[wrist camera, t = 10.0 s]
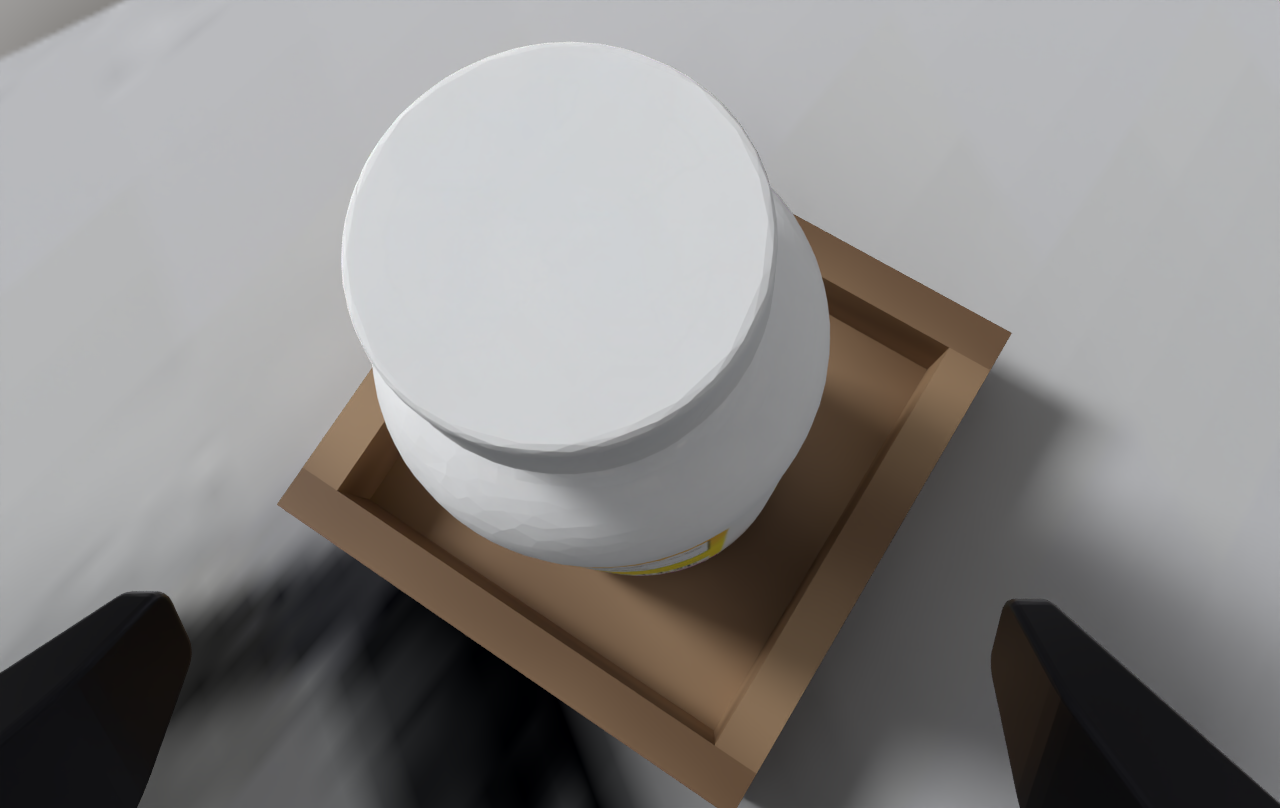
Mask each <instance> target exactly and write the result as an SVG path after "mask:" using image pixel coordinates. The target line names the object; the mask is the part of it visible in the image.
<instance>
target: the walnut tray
mask: <svg viewBox="0 0 1280 808" xmlns="http://www.w3.org/2000/svg"><path fill="white" fill-rule="evenodd" d="M793 215H794V214H793ZM794 217H795V218H796V220H797V222H798V223H799V225H800V227H801V228H802V230H803V232H804V234H805V236H806V238H807V240H808V242H809V244H810V246H811V248H812V250H813V253H814V255H815V257H816V260H817V263H818V266H819V269H820V272H821V276H822V280H823V283H824V287H825V292H826V297H827V302H828V311H829V320H830V350H829V361H828V368H827V376H826V382H825V386H824V390H823V394H822V398H821V402H820V406H819V408H818V411H817V413H816V416H815V418H814V421H813V424H812V426H811V428H810V431H809V433H808V435H807V437H806V439H805V441H804V443H803V444H802V446H801V448H800V450H799V452H798V454H797V455H796V457H795V459H794V460H793V461H792V463H791V464H790V466H789V467H788V469H787V470H786V472H785V473H784V474H783V476H782V477H781V479H780V481H779V482H778V484H777V486H776V488H775V489H774V491H773V493H772V494H771V496H770V498H769V499H768V501H767V503H766V504H765V506H764V508H763V509H762V511H761V512H760V514H759V515H758V516H757V518H756V519H755V521H754V522H753V523H752V524H751V525H750V526H749V528H748V529H747V530H746V531H745V532H744V533H743V534H742V535H741V536H740V537H739V538H738V539H737V540H735V541H734V542H733V543H732V544H731V545H729V546H728V547H726V548H725V549H724V550H722V551H721V552H720V553H718V554H716V555H715V556H713V557H711V558H709V559H708V560H706V561H703V562H701V563H699V564H697V565H694V566H692V567H689V568H686V569H683V570H680V571H676V572H670V573H665V574H659V575H650V576H632V575H621V574H615V573H609V572H604V571H597V570H592V569H587V568H582V567H574V566H567V565H561V564H557V563H552V562H547V561H543V560H540V559H537V558H533V557H529V556H525V555H522V554H519V553H517V552H514V551H512V550H509V549H507V548H504V547H502V546H500V545H498V544H495V543H493V542H491V541H490V540H488V539H486V538H484V537H482V536H481V535H479V534H477V533H476V532H474V531H473V530H471V529H470V528H469V527H467V526H466V525H464V524H463V523H461V522H460V521H459V520H457V519H456V518H455V517H454V516H452V515H451V514H450V513H449V512H448V511H447V510H446V509H445V508H444V507H442V506H441V505H440V504H439V503H438V502H437V501H436V500H435V499H434V498H433V496H432V495H431V494H430V493H429V492H428V491H427V490H426V489H425V488H424V487H423V485H422V484H421V483H420V482H419V481H418V480H417V478H416V477H415V476H414V475H413V473H412V472H411V470H410V469H409V468H408V466H407V465H406V463H405V462H404V460H403V458H402V456H401V455H400V453H399V451H398V449H397V447H396V445H395V444H394V441H393V439H392V437H391V435H390V433H389V431H388V429H387V426H386V423H385V420H384V417H383V414H382V411H381V408H380V405H379V401H378V398H377V392H376V387H375V381H374V375H373V367H372V369H371V370H370V372H369V373H368V374H367V376H366V377H365V379H364V380H363V382H362V383H361V385H360V386H359V387H358V389H357V390H356V392H355V393H354V395H353V396H352V397H351V399H350V400H349V402H348V403H347V405H346V406H345V407H344V409H343V410H342V412H341V413H340V415H339V416H338V418H337V419H336V420H335V422H334V423H333V425H332V426H331V428H330V429H329V430H328V432H327V433H326V435H325V436H324V438H323V439H322V441H321V442H320V443H319V445H318V446H317V448H316V449H315V451H314V452H313V453H312V455H311V456H310V458H309V459H308V461H307V462H306V463H305V465H304V466H303V468H302V469H301V471H300V472H299V474H298V475H297V476H296V478H295V479H294V481H293V482H292V484H291V485H290V486H289V488H288V489H287V491H286V492H285V494H284V495H283V497H282V498H281V499H280V501H279V502H278V504H277V505H278V506H280V507H281V508H282V509H284V510H285V511H287V512H288V513H290V514H291V515H293V516H294V517H296V518H297V519H298V520H300V521H301V522H303V523H304V524H306V525H307V526H309V527H310V528H311V529H313V530H314V531H316V532H317V533H319V534H320V535H322V536H323V537H325V538H326V539H327V540H329V541H330V542H332V543H333V544H335V545H336V546H338V547H339V548H341V549H342V550H343V551H345V552H346V553H348V554H349V555H351V556H352V557H354V558H355V559H357V560H358V561H359V562H361V563H362V564H364V565H365V566H367V567H368V568H370V569H371V570H372V571H374V572H375V573H377V574H378V575H380V576H381V577H383V578H384V579H386V580H387V581H388V582H390V583H391V584H393V585H394V586H396V587H397V588H399V589H400V590H402V591H403V592H404V593H406V594H407V595H409V596H410V597H412V598H413V599H415V600H416V601H417V602H419V603H420V604H422V605H423V606H425V607H426V608H428V609H429V610H431V611H432V612H433V613H435V614H436V615H438V616H439V617H441V618H442V619H444V620H445V621H447V622H448V623H449V624H451V625H452V626H454V627H455V628H457V629H458V630H460V631H461V632H463V633H464V634H465V635H467V636H468V637H470V638H471V639H473V640H474V641H476V642H477V643H478V644H480V645H481V646H483V647H484V648H486V649H487V650H489V651H490V652H492V653H493V654H494V655H496V656H497V657H499V658H500V659H502V660H503V661H505V662H506V663H508V664H509V665H510V666H512V667H513V668H515V669H516V670H518V671H519V672H521V673H522V674H523V675H525V676H526V677H528V678H529V679H531V680H532V681H534V682H535V683H537V684H538V685H539V686H541V687H542V688H544V689H545V690H547V691H548V692H550V693H551V694H553V695H554V696H555V697H557V698H558V699H560V700H561V701H563V702H564V703H566V704H567V705H569V706H570V707H571V708H573V709H574V710H576V711H577V712H579V713H580V714H582V715H583V716H584V717H586V718H587V719H589V720H590V721H592V722H593V723H595V724H596V725H598V726H599V727H600V728H602V729H603V730H605V731H606V732H608V733H609V734H611V735H612V736H614V737H615V738H616V739H618V740H619V741H621V742H622V743H624V744H625V745H627V746H628V747H630V748H631V749H632V750H634V751H635V752H637V753H638V754H640V755H641V756H643V757H644V758H645V759H647V760H648V761H650V762H651V763H653V764H654V765H656V766H657V767H659V768H660V769H661V770H663V771H664V772H666V773H667V774H669V775H670V776H672V777H673V778H675V779H676V780H677V781H679V782H680V783H682V784H683V785H685V786H686V787H688V788H689V789H690V790H692V791H693V792H695V793H696V794H698V795H699V796H701V797H702V798H704V799H705V800H706V801H708V802H709V803H711V804H712V805H714V806H715V807H717V808H737V807H738V805H739V803H740V801H741V800H742V798H743V796H744V795H745V793H746V791H747V789H748V788H749V786H750V784H751V782H752V781H753V779H754V777H755V776H756V774H757V772H758V770H759V769H760V767H761V765H762V763H763V762H764V760H765V758H766V757H767V755H768V753H769V751H770V750H771V748H772V746H773V744H774V743H775V741H776V739H777V738H778V736H779V734H780V732H781V731H782V729H783V727H784V725H785V724H786V722H787V720H788V719H789V717H790V715H791V713H792V712H793V710H794V708H795V706H796V705H797V703H798V701H799V700H800V698H801V696H802V694H803V693H804V691H805V689H806V687H807V686H808V684H809V682H810V681H811V679H812V677H813V675H814V674H815V672H816V670H817V668H818V667H819V665H820V663H821V662H822V660H823V658H824V656H825V655H826V653H827V651H828V649H829V648H830V646H831V644H832V643H833V641H834V639H835V637H836V636H837V634H838V632H839V631H840V629H841V627H842V625H843V624H844V622H845V620H846V618H847V617H848V615H849V613H850V612H851V610H852V608H853V606H854V605H855V603H856V601H857V599H858V598H859V596H860V594H861V593H862V591H863V589H864V587H865V586H866V584H867V582H868V580H869V579H870V577H871V575H872V574H873V572H874V570H875V568H876V567H877V565H878V563H879V561H880V560H881V558H882V556H883V555H884V553H885V551H886V549H887V548H888V546H889V544H890V542H891V541H892V539H893V537H894V536H895V534H896V532H897V530H898V529H899V527H900V525H901V523H902V522H903V520H904V518H905V517H906V515H907V513H908V511H909V510H910V508H911V506H912V504H913V503H914V501H915V499H916V498H917V496H918V494H919V492H920V491H921V489H922V487H923V485H924V484H925V482H926V480H927V479H928V477H929V475H930V473H931V472H932V470H933V468H934V466H935V465H936V463H937V461H938V460H939V458H940V456H941V454H942V453H943V451H944V449H945V447H946V446H947V444H948V442H949V441H950V439H951V437H952V435H953V434H954V432H955V430H956V428H957V427H958V425H959V423H960V422H961V420H962V418H963V416H964V415H965V413H966V411H967V409H968V408H969V406H970V404H971V403H972V401H973V399H974V397H975V396H976V394H977V392H978V390H979V389H980V387H981V385H982V384H983V382H984V380H985V378H986V377H987V375H988V373H989V371H990V370H991V368H992V366H993V365H994V363H995V361H996V359H997V358H998V356H999V354H1000V352H1001V351H1002V349H1003V347H1004V346H1005V344H1006V342H1007V340H1008V339H1009V337H1010V335H1011V332H1009V331H1007V330H1005V329H1003V328H1002V327H1000V326H998V325H996V324H994V323H992V322H991V321H989V320H987V319H985V318H983V317H981V316H980V315H978V314H976V313H974V312H972V311H970V310H968V309H967V308H965V307H963V306H961V305H959V304H957V303H956V302H954V301H952V300H950V299H948V298H946V297H945V296H943V295H941V294H939V293H937V292H935V291H934V290H932V289H930V288H928V287H926V286H924V285H923V284H921V283H919V282H917V281H915V280H913V279H912V278H910V277H908V276H906V275H904V274H902V273H901V272H899V271H897V270H895V269H893V268H891V267H890V266H888V265H886V264H884V263H882V262H880V261H879V260H877V259H875V258H873V257H871V256H869V255H867V254H866V253H864V252H862V251H860V250H858V249H856V248H855V247H853V246H851V245H849V244H847V243H845V242H844V241H842V240H840V239H838V238H836V237H834V236H833V235H831V234H829V233H827V232H825V231H823V230H822V229H820V228H818V227H816V226H814V225H812V224H811V223H809V222H807V221H805V220H803V219H801V218H800V217H798V216H796V215H794Z"/></svg>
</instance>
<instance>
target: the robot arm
mask: <svg viewBox="0 0 1280 808" xmlns="http://www.w3.org/2000/svg"><path fill="white" fill-rule="evenodd" d="M190 661H191V643H190V640H189V638H188V635H187V633H186V631H185V629H184V627H183V625H182V622H181V620H180V618H179V616H178V614H177V612H176V609H175V607H174V605H173V603H172V601H171V599H170V598H169V597H168V596H167V595H166V594H164V593H162V592H154V591H131V592H126V593H123V594H121V595H119V596H118V597H116V598H115V599H113V600H112V601H110V602H108V603H107V604H105V605H104V606H102V607H101V608H99V609H98V610H96V611H95V612H93V613H92V614H90V615H88V616H87V617H85V618H84V619H82V620H81V621H79V622H78V623H76V624H75V625H73V626H72V627H70V628H69V629H67V630H65V631H64V632H62V633H61V634H59V635H58V636H56V637H55V638H53V639H52V640H50V641H49V642H47V643H45V644H44V645H42V646H41V647H39V648H38V649H36V650H35V651H33V652H32V653H30V654H29V655H27V656H26V657H24V658H22V659H21V660H19V661H18V662H16V663H15V664H13V665H12V666H10V667H9V668H7V669H6V670H4V671H3V672H1V673H0V808H137V807H138V804H139V802H140V800H141V797H142V795H143V793H144V790H145V788H146V785H147V783H148V780H149V777H150V775H151V772H152V769H153V767H154V764H155V761H156V758H157V755H158V753H159V750H160V747H161V744H162V741H163V739H164V736H165V733H166V730H167V727H168V724H169V722H170V719H171V716H172V713H173V710H174V708H175V705H176V702H177V699H178V696H179V694H180V691H181V688H182V685H183V682H184V680H185V677H186V674H187V671H188V668H189V665H190ZM991 672H992V678H993V683H994V688H995V693H996V698H997V702H998V707H999V712H1000V717H1001V722H1002V726H1003V731H1004V736H1005V741H1006V746H1007V750H1008V755H1009V760H1010V765H1011V769H1012V774H1013V779H1014V784H1015V789H1016V793H1017V798H1018V802H1019V806H1020V808H1280V803H1279V802H1278V801H1277V800H1275V799H1274V798H1273V797H1272V796H1271V795H1270V794H1269V793H1268V792H1266V791H1265V790H1264V789H1263V788H1262V787H1261V786H1260V785H1259V784H1257V783H1256V782H1255V781H1254V780H1253V779H1252V778H1251V777H1249V776H1248V775H1247V774H1246V773H1245V772H1244V771H1243V770H1242V769H1240V768H1239V767H1238V766H1237V765H1236V764H1235V763H1234V762H1232V761H1231V760H1230V759H1229V758H1228V757H1227V756H1226V755H1225V754H1223V753H1222V752H1221V751H1220V750H1219V749H1218V748H1217V747H1215V746H1214V745H1213V744H1212V743H1211V742H1210V741H1209V740H1208V739H1206V738H1205V737H1204V736H1203V735H1202V734H1201V733H1200V732H1199V731H1197V730H1196V729H1195V728H1194V727H1193V726H1192V725H1191V724H1189V723H1188V722H1187V721H1186V720H1185V719H1184V718H1183V717H1182V716H1180V715H1179V714H1178V713H1177V712H1176V711H1175V710H1174V709H1172V708H1171V707H1170V706H1169V705H1168V704H1167V703H1166V702H1165V701H1163V700H1162V699H1161V698H1160V697H1159V696H1158V695H1157V694H1155V693H1154V692H1153V691H1152V690H1151V689H1150V688H1149V687H1148V686H1146V685H1145V684H1144V683H1143V682H1142V681H1141V680H1140V679H1139V678H1137V677H1136V676H1135V675H1134V674H1133V673H1132V672H1131V671H1129V670H1128V669H1127V668H1126V667H1125V666H1124V665H1123V664H1122V663H1120V662H1119V661H1118V660H1117V659H1116V658H1115V657H1114V656H1112V655H1111V654H1110V653H1109V652H1108V651H1107V650H1106V649H1105V648H1103V647H1102V646H1101V645H1100V644H1099V643H1098V642H1097V641H1095V640H1094V639H1093V638H1092V637H1091V636H1090V635H1089V634H1088V633H1086V632H1085V631H1084V630H1083V629H1082V628H1081V627H1080V626H1079V625H1077V624H1076V623H1075V622H1074V621H1073V620H1072V619H1071V618H1069V617H1068V616H1067V615H1066V614H1065V613H1064V612H1063V611H1062V610H1060V609H1059V608H1058V607H1057V606H1056V605H1055V604H1053V603H1051V602H1050V601H1048V600H1044V599H1011V600H1009V601H1007V602H1006V603H1005V605H1004V607H1003V609H1002V613H1001V617H1000V621H999V625H998V629H997V633H996V637H995V641H994V645H993V649H992V654H991Z"/></svg>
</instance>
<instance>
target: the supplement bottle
mask: <svg viewBox="0 0 1280 808" xmlns="http://www.w3.org/2000/svg"><path fill="white" fill-rule="evenodd" d="M341 266H342V281H343V288H344V292H345V296H346V302H347V307H348V311H349V314H350V317H351V320H352V323H353V326H354V330H355V332H356V334H357V336H358V338H359V340H360V342H361V344H362V347H363V349H364V351H365V353H366V355H367V357H368V358H369V360H370V361H371V363H372V366H373V375H374V381H375V387H376V392H377V398H378V401H379V405H380V408H381V411H382V414H383V417H384V420H385V423H386V426H387V429H388V431H389V433H390V435H391V437H392V439H393V441H394V444H395V445H396V447H397V449H398V451H399V453H400V455H401V456H402V458H403V460H404V462H405V463H406V465H407V466H408V468H409V469H410V470H411V472H412V473H413V475H414V476H415V477H416V478H417V480H418V481H419V482H420V483H421V484H422V485H423V487H424V488H425V489H426V490H427V491H428V492H429V493H430V494H431V495H432V496H433V498H434V499H435V500H436V501H437V502H438V503H439V504H440V505H441V506H442V507H444V508H445V509H446V510H447V511H448V512H449V513H450V514H451V515H452V516H454V517H455V518H456V519H457V520H459V521H460V522H461V523H463V524H464V525H466V526H467V527H469V528H470V529H471V530H473V531H474V532H476V533H477V534H479V535H481V536H482V537H484V538H486V539H488V540H490V541H491V542H493V543H495V544H498V545H500V546H502V547H504V548H507V549H509V550H512V551H514V552H517V553H519V554H522V555H525V556H529V557H533V558H537V559H540V560H543V561H547V562H552V563H557V564H561V565H567V566H574V567H582V568H587V569H592V570H597V571H604V572H609V573H615V574H621V575H632V576H650V575H659V574H665V573H670V572H676V571H680V570H683V569H686V568H689V567H692V566H694V565H697V564H699V563H701V562H703V561H706V560H708V559H709V558H711V557H713V556H715V555H716V554H718V553H720V552H721V551H722V550H724V549H725V548H726V547H728V546H729V545H731V544H732V543H733V542H734V541H735V540H737V539H738V538H739V537H740V536H741V535H742V534H743V533H744V532H745V531H746V530H747V529H748V528H749V526H750V525H751V524H752V523H753V522H754V521H755V519H756V518H757V516H758V515H759V514H760V512H761V511H762V509H763V508H764V506H765V504H766V503H767V501H768V499H769V498H770V496H771V494H772V493H773V491H774V489H775V488H776V486H777V484H778V482H779V481H780V479H781V477H782V476H783V474H784V473H785V472H786V470H787V469H788V467H789V466H790V464H791V463H792V461H793V460H794V459H795V457H796V455H797V454H798V452H799V450H800V448H801V446H802V444H803V443H804V441H805V439H806V437H807V435H808V433H809V431H810V428H811V426H812V424H813V421H814V418H815V416H816V413H817V411H818V408H819V406H820V402H821V398H822V394H823V390H824V386H825V382H826V376H827V368H828V361H829V350H830V320H829V311H828V302H827V297H826V292H825V287H824V283H823V280H822V276H821V272H820V269H819V266H818V263H817V260H816V257H815V255H814V253H813V250H812V248H811V246H810V244H809V242H808V240H807V238H806V236H805V234H804V232H803V230H802V228H801V227H800V225H799V223H798V222H797V220H796V218H795V217H794V215H793V213H792V212H791V211H790V209H789V208H788V207H787V205H786V204H785V203H784V201H783V200H782V199H781V198H780V196H779V195H778V194H777V193H776V192H775V191H774V190H773V189H772V188H771V187H770V184H769V181H768V177H767V174H766V171H765V169H764V167H763V164H762V162H761V159H760V157H759V155H758V152H757V150H756V149H755V147H754V146H753V144H752V142H751V141H750V139H749V138H748V136H747V134H746V133H745V131H744V129H743V128H742V126H741V125H740V123H739V122H738V121H737V120H736V118H735V117H734V116H733V115H732V114H731V113H730V111H729V110H728V109H727V108H726V107H725V106H724V105H723V104H722V103H721V102H720V101H719V100H718V99H717V98H716V97H715V96H714V95H713V94H712V93H710V92H709V91H708V90H706V89H705V88H704V87H702V86H701V85H699V84H698V83H697V82H695V81H694V80H693V79H691V78H690V77H689V76H687V75H685V74H683V73H682V72H680V71H678V70H676V69H675V68H673V67H671V66H669V65H667V64H664V63H662V62H659V61H657V60H654V59H652V58H650V57H647V56H644V55H642V54H639V53H637V52H634V51H630V50H627V49H623V48H619V47H614V46H609V45H604V44H595V43H582V42H552V43H543V44H535V45H530V46H525V47H520V48H515V49H512V50H508V51H505V52H502V53H498V54H495V55H492V56H490V57H487V58H485V59H482V60H480V61H478V62H475V63H473V64H471V65H469V66H467V67H465V68H462V69H460V70H458V71H457V72H455V73H453V74H451V75H450V76H448V77H446V78H445V79H443V80H441V81H440V82H439V83H437V84H436V85H435V86H433V87H432V88H431V89H429V90H428V91H427V92H425V93H424V94H423V95H422V96H420V97H419V98H418V99H417V100H416V101H415V102H413V103H412V104H411V105H410V106H409V107H408V108H407V109H406V110H405V111H404V112H403V113H401V114H400V115H399V117H398V118H397V119H396V120H395V121H394V123H393V124H392V125H391V126H390V127H389V129H388V130H387V131H386V132H385V134H384V135H383V136H382V138H381V139H380V140H379V142H378V143H377V145H376V147H375V148H374V150H373V151H372V153H371V155H370V156H369V158H368V160H367V162H366V164H365V166H364V168H363V170H362V172H361V175H360V178H359V180H358V182H357V183H356V186H355V189H354V191H353V194H352V197H351V200H350V204H349V207H348V211H347V215H346V219H345V224H344V231H343V238H342V260H341Z"/></svg>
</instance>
